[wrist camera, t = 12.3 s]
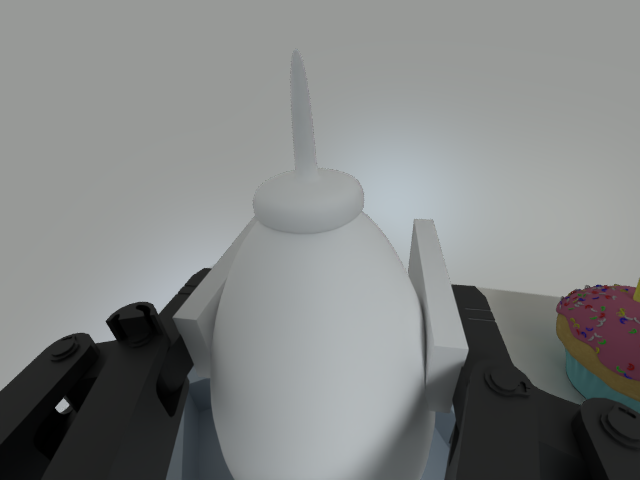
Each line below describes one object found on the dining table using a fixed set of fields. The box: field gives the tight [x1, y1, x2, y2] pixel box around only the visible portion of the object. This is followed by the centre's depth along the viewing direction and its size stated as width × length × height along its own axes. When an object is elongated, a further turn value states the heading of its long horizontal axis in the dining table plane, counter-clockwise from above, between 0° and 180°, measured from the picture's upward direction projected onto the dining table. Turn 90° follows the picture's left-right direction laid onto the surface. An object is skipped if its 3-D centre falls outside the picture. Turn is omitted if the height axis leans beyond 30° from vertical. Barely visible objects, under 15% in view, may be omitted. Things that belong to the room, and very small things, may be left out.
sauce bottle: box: [210, 49, 435, 480], centre depth 10 cm, size 8×8×18 cm
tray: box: [166, 366, 456, 480], centre depth 15 cm, size 16×16×4 cm
